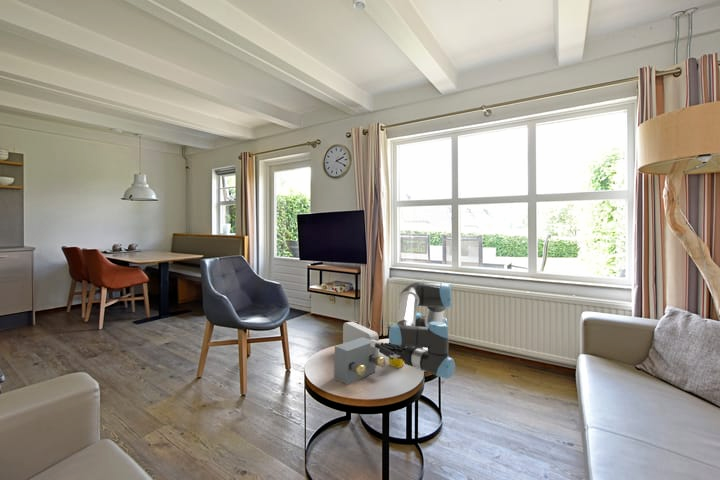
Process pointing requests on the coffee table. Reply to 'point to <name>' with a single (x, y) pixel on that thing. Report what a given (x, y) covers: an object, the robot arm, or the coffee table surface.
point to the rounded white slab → (358, 333)
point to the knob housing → (353, 359)
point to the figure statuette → (396, 362)
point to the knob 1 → (357, 368)
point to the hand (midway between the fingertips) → (371, 342)
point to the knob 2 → (377, 360)
